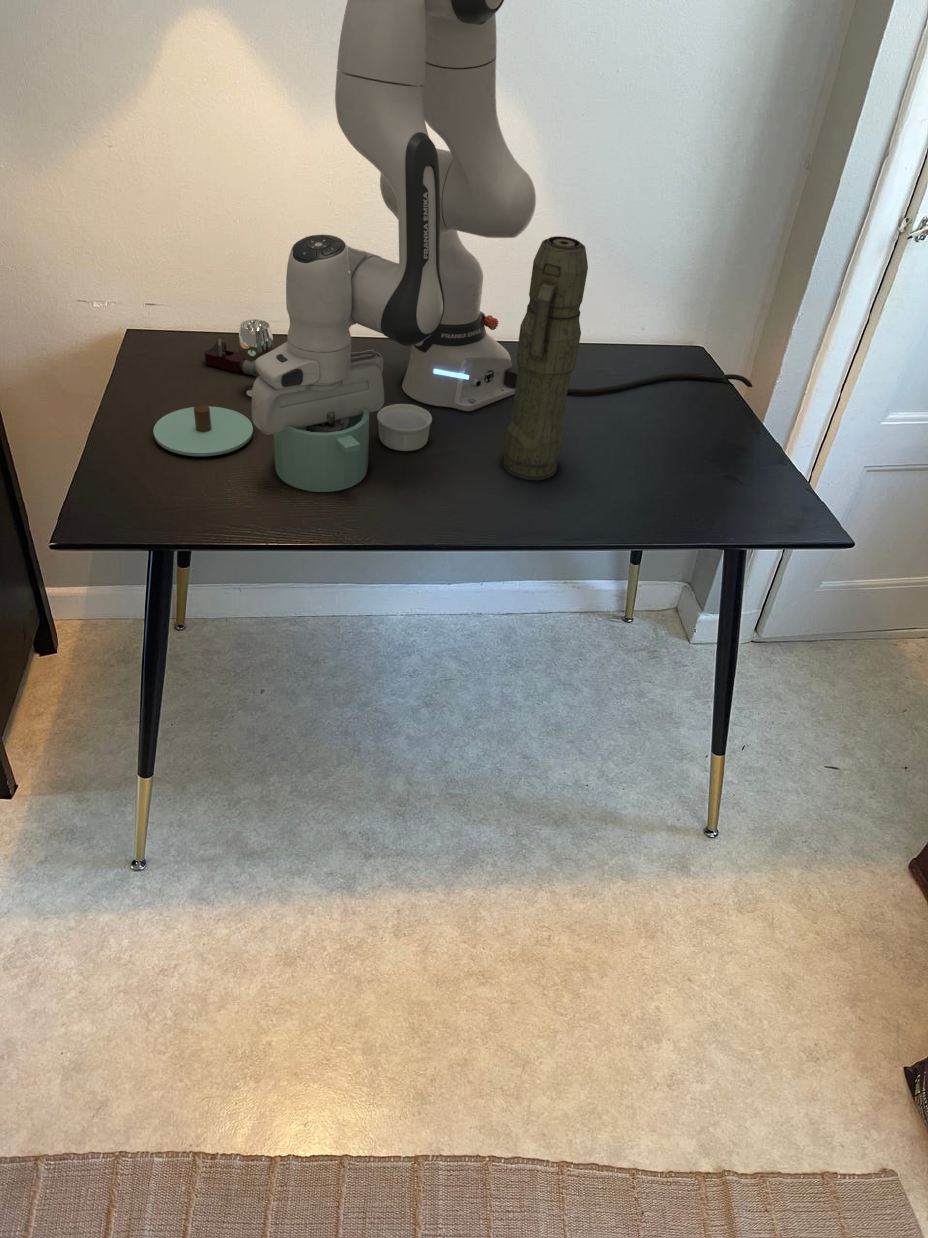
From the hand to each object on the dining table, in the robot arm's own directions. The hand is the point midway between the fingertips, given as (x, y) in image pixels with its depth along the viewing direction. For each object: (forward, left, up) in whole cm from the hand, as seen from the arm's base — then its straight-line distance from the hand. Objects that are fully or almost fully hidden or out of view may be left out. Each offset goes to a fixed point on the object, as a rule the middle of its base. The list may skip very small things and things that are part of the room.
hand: (320, 446), depth 136 cm
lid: (+12, -17, -3) cm, 21 cm away
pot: (0, 0, -4) cm, 4 cm away
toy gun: (-4, -39, -4) cm, 40 cm away
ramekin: (-16, -2, -4) cm, 17 cm away
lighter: (0, 0, -4) cm, 4 cm away
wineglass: (-2, -27, -4) cm, 27 cm away
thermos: (-30, +14, -4) cm, 33 cm away
